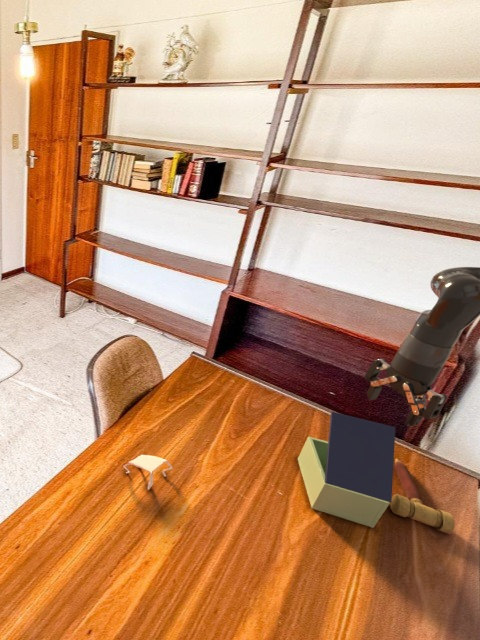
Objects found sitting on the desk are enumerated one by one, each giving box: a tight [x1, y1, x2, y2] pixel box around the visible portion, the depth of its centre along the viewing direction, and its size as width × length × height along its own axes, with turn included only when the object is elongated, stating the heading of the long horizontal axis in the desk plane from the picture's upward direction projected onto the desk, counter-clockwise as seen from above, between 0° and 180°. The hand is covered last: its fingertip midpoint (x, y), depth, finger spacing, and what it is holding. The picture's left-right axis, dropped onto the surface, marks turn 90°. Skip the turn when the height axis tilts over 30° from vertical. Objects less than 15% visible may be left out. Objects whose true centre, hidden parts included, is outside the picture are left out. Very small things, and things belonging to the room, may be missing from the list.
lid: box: [325, 411, 396, 503], centre depth 93 cm, size 17×13×1 cm
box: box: [297, 436, 391, 529], centre depth 99 cm, size 16×13×9 cm
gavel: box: [390, 458, 456, 534], centre depth 101 cm, size 21×5×10 cm
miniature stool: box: [122, 454, 174, 491], centre depth 102 cm, size 12×8×5 cm
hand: (389, 411), depth 94 cm, fingers open, 8 cm apart
